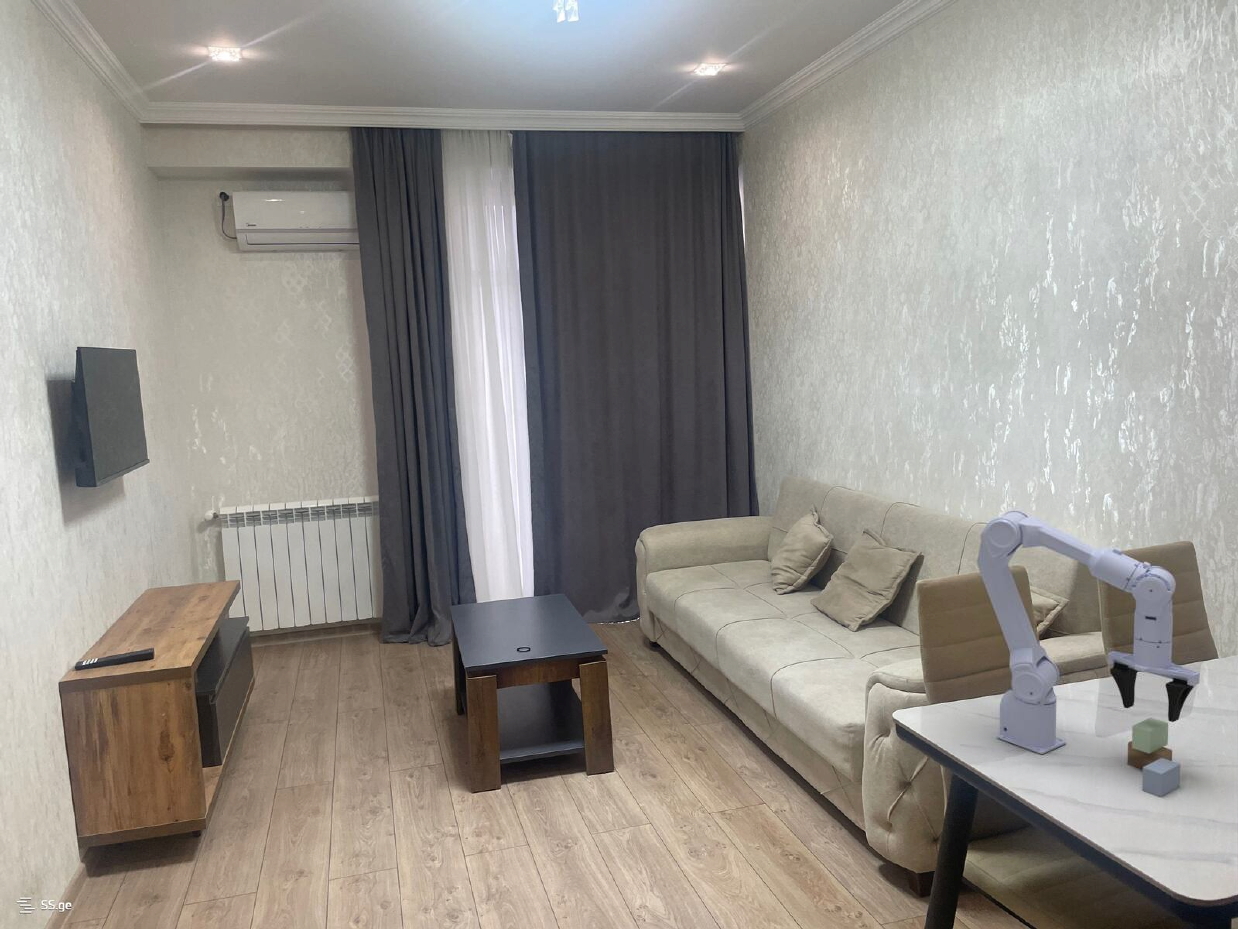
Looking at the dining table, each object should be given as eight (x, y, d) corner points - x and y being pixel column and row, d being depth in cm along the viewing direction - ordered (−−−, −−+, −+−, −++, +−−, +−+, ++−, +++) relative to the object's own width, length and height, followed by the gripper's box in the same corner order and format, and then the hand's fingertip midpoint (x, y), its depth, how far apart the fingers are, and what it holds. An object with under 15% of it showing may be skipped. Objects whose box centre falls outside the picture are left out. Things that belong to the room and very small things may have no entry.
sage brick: (1150, 739, 160) (1150, 717, 160) (1167, 744, 158) (1168, 722, 157) (1131, 747, 157) (1132, 726, 157) (1149, 753, 155) (1150, 731, 154)
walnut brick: (1127, 764, 160) (1127, 742, 159) (1136, 759, 161) (1137, 738, 161) (1162, 776, 155) (1163, 754, 154) (1171, 771, 156) (1172, 750, 156)
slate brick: (1160, 797, 148) (1161, 774, 147) (1142, 790, 150) (1142, 767, 150) (1179, 786, 151) (1180, 764, 150) (1161, 780, 153) (1161, 757, 153)
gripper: (1098, 632, 159) (1097, 706, 161) (1185, 653, 147) (1182, 732, 149) (1120, 625, 163) (1118, 697, 165) (1206, 644, 151) (1204, 722, 152)
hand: (1150, 713), depth 157 cm, fingers open, 7 cm apart
